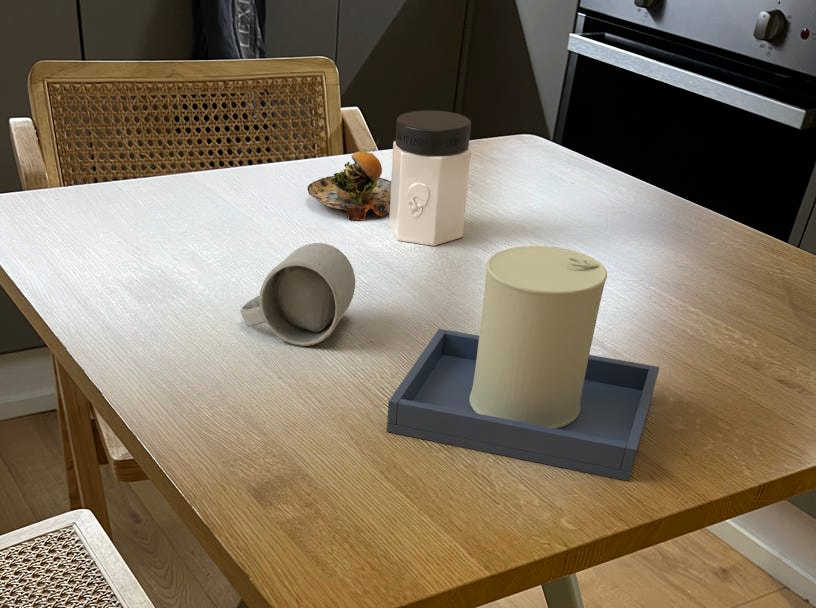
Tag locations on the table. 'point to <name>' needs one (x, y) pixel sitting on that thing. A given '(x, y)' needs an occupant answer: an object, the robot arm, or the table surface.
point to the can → (536, 334)
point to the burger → (355, 188)
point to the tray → (565, 447)
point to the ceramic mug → (304, 295)
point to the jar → (429, 177)
